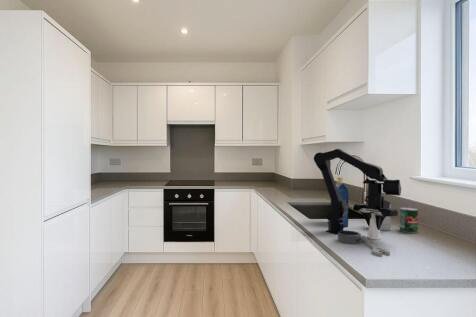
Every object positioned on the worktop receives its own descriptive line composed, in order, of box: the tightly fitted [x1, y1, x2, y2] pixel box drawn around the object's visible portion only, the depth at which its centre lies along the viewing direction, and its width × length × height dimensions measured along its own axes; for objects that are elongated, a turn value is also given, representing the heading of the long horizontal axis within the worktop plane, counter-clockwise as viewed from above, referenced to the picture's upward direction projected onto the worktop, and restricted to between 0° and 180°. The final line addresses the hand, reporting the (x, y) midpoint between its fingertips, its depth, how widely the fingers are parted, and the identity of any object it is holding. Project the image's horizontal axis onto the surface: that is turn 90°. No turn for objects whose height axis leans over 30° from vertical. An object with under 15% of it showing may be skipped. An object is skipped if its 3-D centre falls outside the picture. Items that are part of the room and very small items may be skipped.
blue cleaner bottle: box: [335, 176, 349, 228], centre depth 166 cm, size 6×12×25 cm, turn 175°
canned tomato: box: [399, 206, 419, 234], centre depth 152 cm, size 8×8×11 cm
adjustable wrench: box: [360, 235, 391, 257], centre depth 126 cm, size 25×6×2 cm, turn 172°
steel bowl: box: [337, 229, 362, 245], centre depth 133 cm, size 9×9×4 cm
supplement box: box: [371, 204, 392, 231], centre depth 157 cm, size 7×7×13 cm
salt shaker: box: [367, 213, 382, 240], centre depth 139 cm, size 5×5×11 cm
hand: (374, 228), depth 139 cm, fingers closed on salt shaker, 4 cm apart
